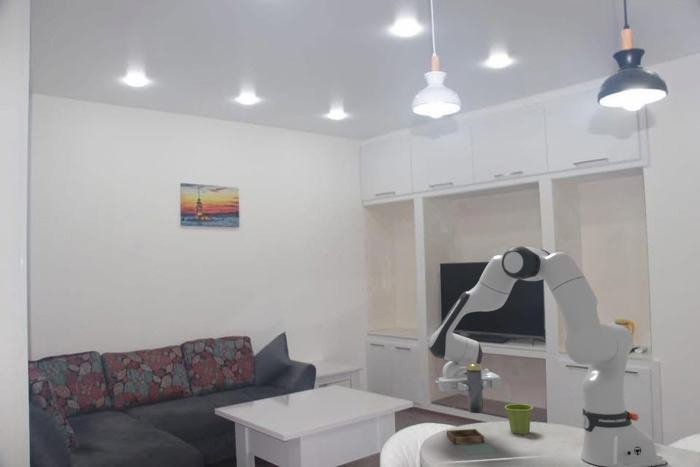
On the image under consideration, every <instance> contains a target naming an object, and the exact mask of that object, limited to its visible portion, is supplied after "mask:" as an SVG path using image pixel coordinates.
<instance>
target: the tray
mask: <svg viewBox="0 0 700 467" xmlns="http://www.w3.org/2000/svg"><path fill="white" fill-rule="evenodd" d="M446 437H447V438H448V439H449V440H450V441H451V443H452V444H453V445H466V444H469V445H470V444H481V443H482V444H485V437H484V435H483V434H482V433H481V432H480V431H479V430H478V429H476V428H471V429H470V428H468V429H467V428H465V429H455V430H452V429H451V430H446Z"/></svg>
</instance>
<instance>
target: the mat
mask: <svg viewBox="0 0 700 467" xmlns="http://www.w3.org/2000/svg"><path fill="white" fill-rule="evenodd" d="M460 448H461V449H462V451H464V452H465V453H466V455H468V456H469V455H470V456H471V455H484V454H485V455H486V454H497V452H496V450H495V449H493V448H492V447H491V446H490V445H489V444H488V443H482V444H481V443H480V444H469V445H466V444H464V445H460Z"/></svg>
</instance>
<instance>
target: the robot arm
mask: <svg viewBox="0 0 700 467" xmlns="http://www.w3.org/2000/svg"><path fill="white" fill-rule="evenodd" d="M518 280H521V281H526V282H543V281H544V282H545V283H546V284H547V287H548V289H549V291H550V293H551V294H552V296H553V298H554V300H555V302H556V305H557V306H558V308H559V310H560V312H561V314H562V318H563V322H564V325H565V329H566V338H565V340H564V341H565V342H564V348H565V352H566V355H567V356H568V358H569V359H571V361H573V362H574V363H576V364H580V365H584V366H588V369H587V373H586V374H585V376H584V378H583V380H582V398H583V408H582V424H583V430H584V431H583V432H584V433H583V434H584V435H583V446H582V451H581V455H580V457H581V459H582V460H583V461H585V462H586V463H589V464H592V465H596V466H601V467H651V466H653V467H654V466H659V465H665V464H666V463H667V462H666V461H667V460H666V458H665V456H663V455H662V454H660V453H659V452H657V449H656V445H655V442H654V440H653V439H652V437H651V436H650V435H648V434H647V433H645V431H643V430H642V429H640V428H639V427H637V426H636V425H635V424H633V422H632V421H634V422H638V421H639V419H640V417H639V415H638V414H637V413H635V412H629V411H628V410H626V408H625V399H624V396H625V394H624V393H625V392H624V390H625V389H624V388H625V387H624V386H625V383H624V382H625V375H626V369H627V363H628V358H629V355H630V352H631V351H632V349H633V347H634V337H633V334H632V333H631V332H630V330H629V329H628V328H627V327H626V326H624V325H620V324H617V323H613V322H611V323H610V322H607V323H601V321H600V318H599V314H598V308H597V307H598V304H599V300H598V298H597V296H596V294H595V293H594V290H593V289H592V287H591V285H590V282H588V279H587V278H586V276H585V275H584V273H583V271H582V269H581V268H580V266H579V265H578V264H577V263H576V261H575V260H574V259H573V258H572V256H571V255H570V254H568V253H566V252H563V251H557V252H553V253H551V252H548V251H547V250H545V249H542V248H540V249H539V248H536V247H534V246H521V245H520V246H519V245H518V246H514V247H511V248H508V249H507V250H506V251H505V252H504V254H498V255H494V256H493V257H492V258H491V259H490V261H489V262H488V263H487V265H486V267H485V268H484V270H483V272H482V274H481V276H480V277H479V280H478V282H477V283H476V284H475V286H474V287H472V288H471V289H469V290H467V291H464V292H462V293H461V295H460V296H459V297H458V298H457V300H456V301H455V302H454V304H453V306H452V307H451V308H450V310H449V311H448V313H447V314H446V315H445V317H444V319H443V320H442V322H441V323H440V324H439V326H438V327H437V329H436V330H435V331H433V333H432V335H431V336H430V338H429V343H428V349H429V351H430V353H431V354H432V356H433V357H434V358H438V359H442V360H447V362H446V363H445V364H444V366H443V367H442V376H440V377H438V380H434V384H435V385H437V386H438V389H439V391H440V392H442V393H445V392H458V393H460V394H462V395H463V394H464V395H468V391H469V385H468V383H467V370H466V364H472V363H476V364H481V362H482V359H483V350H482V346H481V345H480V343H479V341H477V340H474V339H471V338H469V337H466V336H463V335H461V334H457V333H454V330H455V328H456V327H457V326H458V324H459V322H460V321H461V320H462V319H463V317H464V316H465V315H466V314H469V313H470V314H471V313H476V312H492V311H496V310H499V309H500V308H502V307H503V306H504V305H505V303H506V302H507V300H508V298H509V296H510V293H512V292H511V291H512V289H513V287H514V284H515V283H516V282H517V281H518ZM481 373H482V391H483V390H485V391H486V390H494V389H495V390H496V389H501V388H502V378H501V376H500V375H498V374H497V373H494V372H491V371H490V370H489V369H488V368H482V370H481Z"/></svg>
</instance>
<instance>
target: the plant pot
mask: <svg viewBox="0 0 700 467" xmlns="http://www.w3.org/2000/svg"><path fill="white" fill-rule="evenodd" d="M504 409H505V411H506V413H507V417H508V421H509V422H508V423H509V427H510V428H509V429H510V432H512V433H515V434H522V435H529V434H530V432H531V431H530V430H531V418H532V417H531V416H532V413H533V412H532V411H533V409H534V408H533V405H530V404H524V403H513V404H512V403H511V404H507V405H505V406H504Z"/></svg>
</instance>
